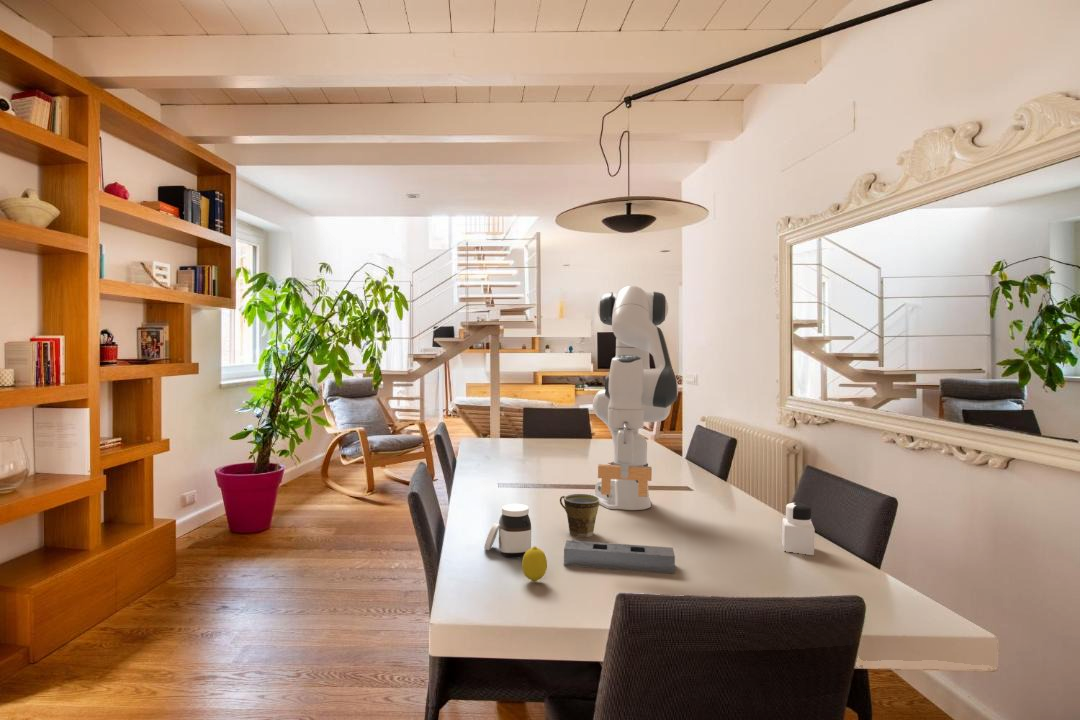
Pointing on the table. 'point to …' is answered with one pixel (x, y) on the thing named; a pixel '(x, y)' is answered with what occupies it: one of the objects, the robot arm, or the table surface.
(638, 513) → the table surface
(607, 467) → the wooden arch block
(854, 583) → the table surface
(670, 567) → the rail
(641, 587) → the table surface
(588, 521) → the ceramic cup
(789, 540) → the medicine bottle
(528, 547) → the spread jar
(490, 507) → the table surface
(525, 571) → the lemon
